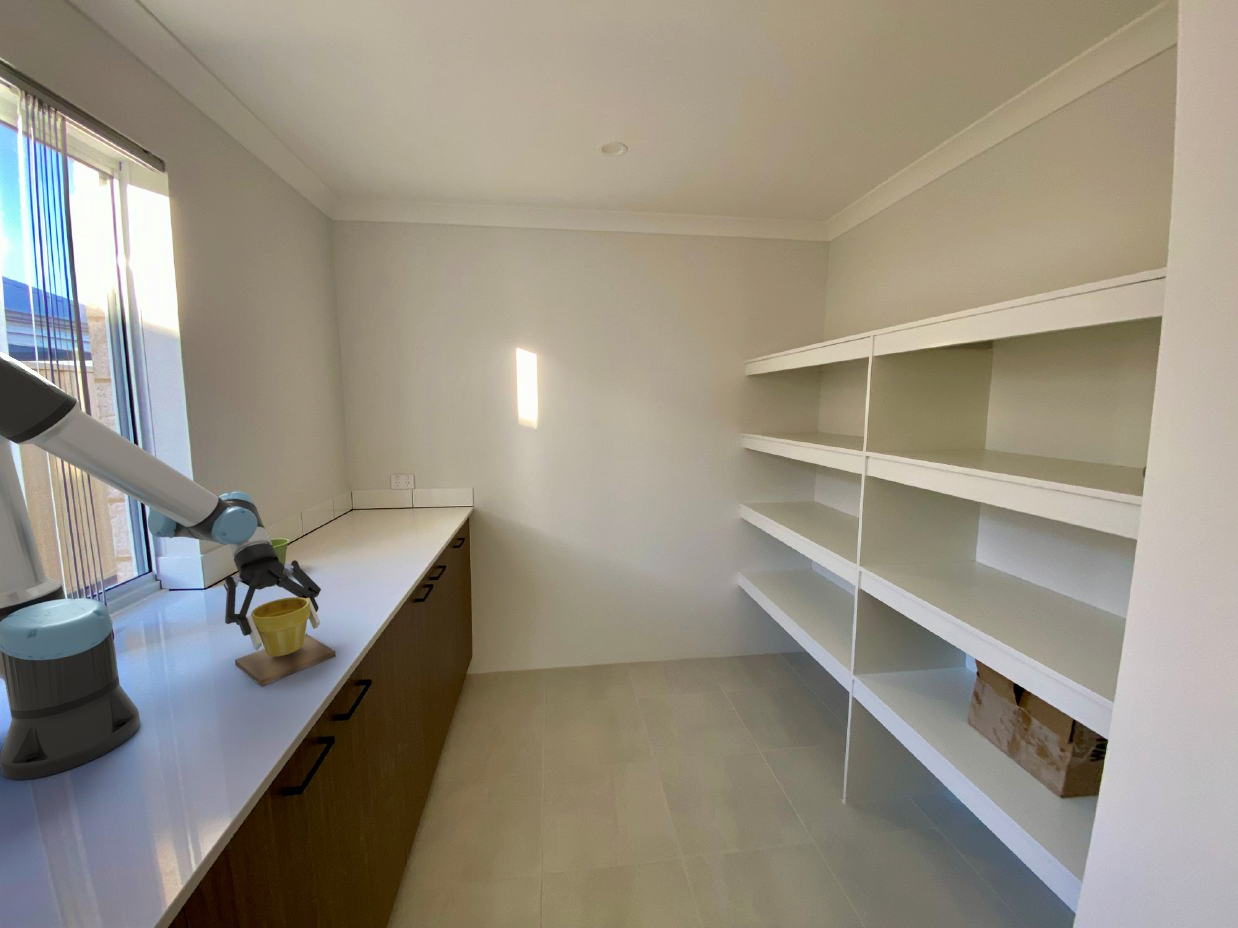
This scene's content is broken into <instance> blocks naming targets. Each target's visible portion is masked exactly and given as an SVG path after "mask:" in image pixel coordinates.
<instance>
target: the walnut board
mask: <svg viewBox="0 0 1238 928" xmlns="http://www.w3.org/2000/svg"><path fill="white" fill-rule="evenodd" d="M333 657H336V650H334V649H333V648H331V647H329V646H328V645H326V644H324V643H323V642H321V641H319V640H318V639H317V638H314V637H312V636H311V635H310V634H308V633H305V637H304V643H303V646H302V647H301V648H300V649H299V650H297V651H295V652H293V653H290V654H287V655H284V656H277V657H273V656H269V655H267V653H266V651H265V648H262V649H261V650H258V651H255V652H252V653H249V654H247V655H244V656H241V657H239V658H236V659H234V663H235V666H236V667H237V668H238V669H240V670H241V671H242V672H243V673H245V674H246V675H247V676H248V677H249V678H251V679H252V680H253V681H254V682H255V683H257V684H258V685H259V686H260V687H264V686H266V685H269V684H270V683H271V684H272V682H275V681H278V680H280V679H282V678H285V677H287V676H290V675H292V674H295V673H297V672H299V671H300V672H301V671H302V670H304V669H306V668H309V667H312V666H314V665H317V664H319V663H322V662H324V661H326V660H329V659H331V658H333Z"/></svg>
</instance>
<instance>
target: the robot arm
mask: <svg viewBox="0 0 1238 928" xmlns="http://www.w3.org/2000/svg"><path fill="white" fill-rule="evenodd" d="M10 442H13V443H14V444H16V445H34V446H36V447H37V448H39V449H41V450H43V451H45V452H46V453H49V454H50V455H53V456H54V457H56V458H58V459H60V460H61V461H63V462H65V463H67V464H68V465H71V466H73V467H75V468H76V469H78V470H80V471H82V472H84V473H86V474H88V475H89V476H92V477H94V478H95V479H96V480H99V481H100V482H102V483H104V484H106V485H108V486H110V487H112V488H113V489H115V490H117V491H119V492H121V493H122V494H125V495H126V496H128V497H130V498H132V499H133V500H136V501H138V502H139V503H141V504H143V505H144V506H147V507H148V508H149V509H150V510H149V512H148V518H147V527H148V528H147V529H148V530H149V532H150V534H151V535H153V537H156V538H169V539H173V538H188V539H189V538H190V539H194V540H201V541H206V542H211V543H216V544H217V543H218V544H220V545H225V546H226V545H227V546H228V547H227V548H228V549H229V551H230V554H231V556H232V558H233V562H234V565H235V566H236V569H237V571H238V573H239V575H236V576H231V575H228V576H226V577H225V579H224V582H223V587H224V589H225V591H226V599H225V614H224V615H225V616H224V617H225V618H224V623H225V624H226V625H230V624H233V623H234V624H235V623H236V625H238V626H239V629H240V631H241V633H242V636H244V637H246V636H249V637H250V638H249V639H250V640H251V642H252V645H253V648H254V650H255V651H256V650H259V649H261V647H262V645H263V643H262V640H261V637H260V635H259V633H258V630H257V628H256V625H255V623H254V621H253V619H252V615H251V614H250V615H248V616H247V614H248V611H249V609H250V606H251V603H252V600H253V597H254V595H255V592H256V590H258V591H260V590H261V591H262V590H264V589H265V588H270V587H274V586H277V587H278V588H283V589H284V590H285V591H287V592H289V593H290V594H292V595H294V596H295V597H301V598H306V599H308V600H309V602H310V617H309V619H308V620H309V623H310V624H311V626H312V628H313V630H316V629H317V628H319V626H320V624H321V620H320V618H319V616H318V612H319V608H320V607H319V604H318V602H317V600H316V598H318V596H319V595H320V593H321V591H322V589H321V587H320V586H319V585H318V584H317V583H316V582H315V581H314V580H313V579H312V578H311V577H310V576H309V575H308V574H307V573H306V572H305V571H304V570H303V569H302V568H301V566H300V565H299V562H298V560H296V559H294V560H292V561H291V563H289V562H288V563H287V564H286V563H285V565H283V564H282V563H281V562H280V561H279V559H278V556H277V554H276V552H275V550H274V547H273V546H272V543H271V540H270V539H271V538H270V536H269V534H268V533H267V530H266V527H265V526H264V523H263V521H262V519H261V516H260V514H259V511H258V508H257V506H256V504H255V503H254V501H253V500H252V498H251V497H250V495H249V494H248V493H245V492H243V491H232V492H230V493H229V492H228V493H223V494H221V495H219V496H218V495H216V494H214V493H213V492H211V491H210V490H208V489H207V488H205V487H203V486H202V485H200V484H199V483H198V482H196V481H194V480H192V479H191V478H189V476H186V475H184V474H183V473H181V472H180V471H178V470H177V469H175V468H173V467H172V466H170V465H169V464H167V463H166V462H164V461H162V460H161V459H159V458H158V457H156V456H155V455H153V454H152V453H150V452H148V451H147V450H146V449H143V448H142V447H140V446H139V445H137V444H136V443H134V442H132V441H131V440H130V439H127V438H126V437H125V436H123V435H121V434H120V433H118V432H116V431H115V430H114V429H112V428H110V427H109V426H107V425H106V424H104V423H102V422H101V421H99V420H97V419H96V418H94V417H93V416H91V415H89V414H88V413H86V411H84V410H82V409H81V407H80V400H79V399H77V398H76V397H75V396H73V395H72V394H70V393H69V392H67V391H65V390H63V389H62V388H60V387H59V386H57V385H56V384H55V383H53V382H51V381H50V380H48V379H47V378H45V377H44V376H42V375H41V374H40V373H38V372H37V371H35V370H33V369H31V368H30V367H28V366H27V365H25V364H24V363H22V362H21V361H19V360H17V359H15V358H13V357H11V356H10V355H7V354H5V353H4V352H1V351H0V679H1V680H3V681H4V684H5V689H6V695H7V700H8V705H9V711H10V716H11V717H10V718H11V721H10V725H9V727H8V731H7V734H6V737H5V740H4V743H3V746H2V749H1V752H0V770H1V774H2V776H3V777H4V778H6V779H9V780H29V779H31V780H32V779H37V778H41V777H42V778H43V777H47V776H52V775H54V774H57V773H58V774H59V773H61V772H65V771H67V770H71V769H73V768H76V767H78V766H81V765H83V764H85V763H88V762H91V761H93V760H95V759H97V758H99V757H101V756H103V755H105V754H107V753H108V752H111V751H112V750H114V749H116V748H117V747H119V746H120V745H121V744H124V742H126V741H128V740H129V739H130V738H131V737H132V736H133V735H134V734H135V733H136V732H137V730H138V729H139V727H140V725H141V719H140V712H139V710H138V709H139V708H138V707H137V706H136V705H135V703H134V702H133V700H132V699H131V697H130V696H129V695H128V694H127V692H125V690H124V688H123V687H122V686H121V684H120V679H119V678H120V677H119V671H118V662H117V656H116V655H117V654H116V649H115V641H114V634H113V633H114V632H113V620H112V617H111V615H110V613H109V609H108V607H107V606H106V605H105V603H103V602H101V601H99V600H96V599H93V598H87V597H86V598H83V597H79V598H75V599H73V598H66V596H65V591H64V589H63V585H62V582H61V581H60V580H57V579H54V578H51V577H48V576H47V575H46V573H45V572H46V571H45V569H44V566H43V562H42V559H41V556H40V551H39V547H38V544H37V541H36V540H37V539H36V536H35V533H34V528H33V526H32V522H31V518H30V515H29V510H28V508H27V504H26V500H25V496H24V492H23V489H22V485H21V482H20V479H19V475H18V470H17V466H16V464H15V460H14V456H13V453H12V449H11V445H10ZM283 570H285V571H286V572H287V573H288V574H291V576H292V577H293V578H294V579H295V580H296V581H297V582H295V581H294V580H293V579H291V578H289V576H288V575H287V574H285V573H283ZM239 582H240V583H241V584H244V585H246V586H248V589H247V592H246V595H245V597H244V601H243V603H242V606H241V608H240V611H239V612H238V613H236V596H237V595H236V594H237V593H236V592H237V587H238V585H239Z"/></svg>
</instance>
